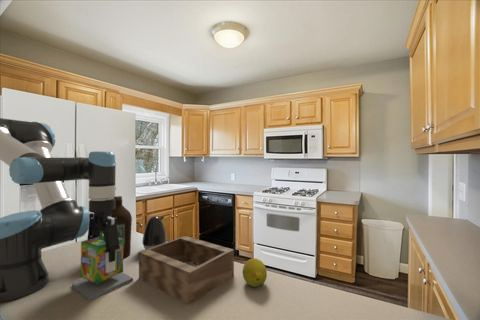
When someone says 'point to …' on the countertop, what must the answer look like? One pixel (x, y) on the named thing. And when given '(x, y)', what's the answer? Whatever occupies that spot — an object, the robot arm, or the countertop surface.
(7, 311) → the countertop surface
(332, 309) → the countertop surface
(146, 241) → the pump dispenser
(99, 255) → the chalk box
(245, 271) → the lemon
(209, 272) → the walnut box
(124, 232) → the olive oil
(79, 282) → the slate mat
